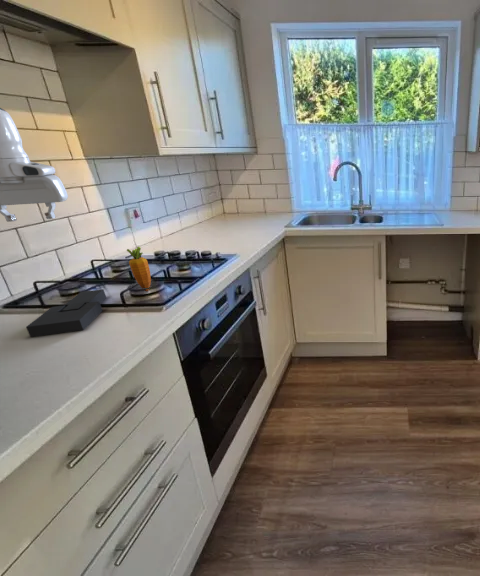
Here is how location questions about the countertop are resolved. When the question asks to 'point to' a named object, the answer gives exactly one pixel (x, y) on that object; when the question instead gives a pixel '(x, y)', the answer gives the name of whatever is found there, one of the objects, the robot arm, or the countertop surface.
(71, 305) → the pad
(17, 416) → the countertop surface
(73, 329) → the notch pad
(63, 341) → the countertop surface
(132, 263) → the carrot
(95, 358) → the countertop surface
